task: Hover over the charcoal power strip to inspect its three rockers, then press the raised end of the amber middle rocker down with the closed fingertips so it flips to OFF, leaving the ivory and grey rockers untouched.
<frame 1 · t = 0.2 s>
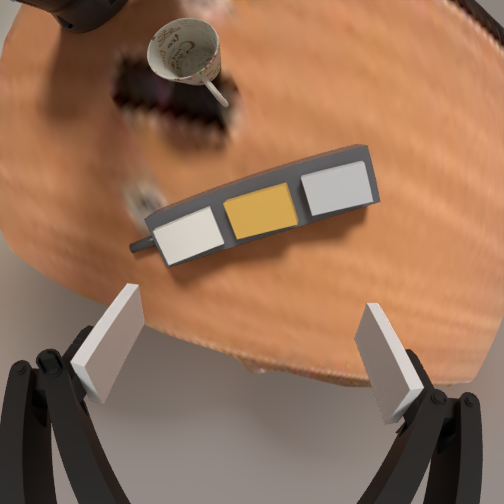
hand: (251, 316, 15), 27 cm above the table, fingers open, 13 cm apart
power strip: (261, 200, 40), on the table
rocker b: (261, 211, 34), point 6 cm above the table, hinge at 11.0°
mug: (208, 77, 33), on the table
rocker c: (337, 188, 32), point 6 cm above the table, hinge at 11.0°
rocker a: (188, 235, 36), point 6 cm above the table, hinge at -11.0°
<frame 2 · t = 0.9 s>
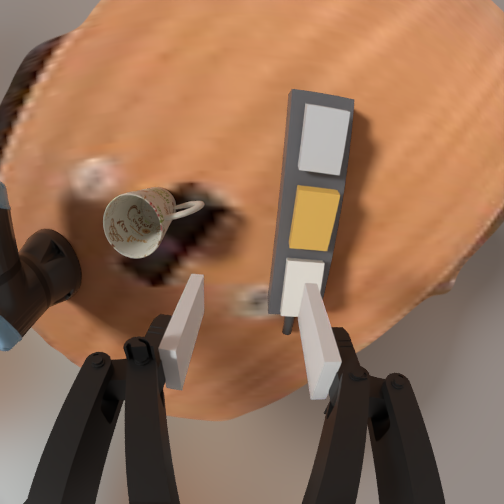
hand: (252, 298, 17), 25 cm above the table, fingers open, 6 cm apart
power strip: (305, 206, 40), on the table
rocker b: (313, 219, 34), point 6 cm above the table, hinge at 11.0°
mug: (170, 202, 40), on the table
rocker c: (323, 139, 30), point 6 cm above the table, hinge at 11.0°
rocker a: (301, 288, 38), point 6 cm above the table, hinge at -11.0°
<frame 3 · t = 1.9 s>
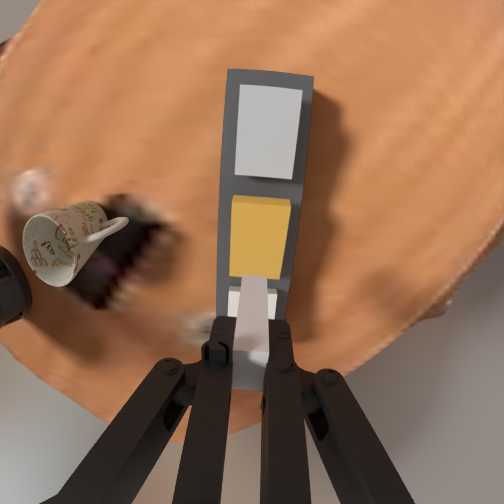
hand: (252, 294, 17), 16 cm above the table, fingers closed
power strip: (257, 219, 32), on the table
rocker b: (257, 239, 26), point 6 cm above the table, hinge at 11.0°
mug: (102, 218, 32), on the table
rocker c: (267, 131, 22), point 6 cm above the table, hinge at 11.0°
rocker a: (250, 323, 30), point 6 cm above the table, hinge at -11.0°
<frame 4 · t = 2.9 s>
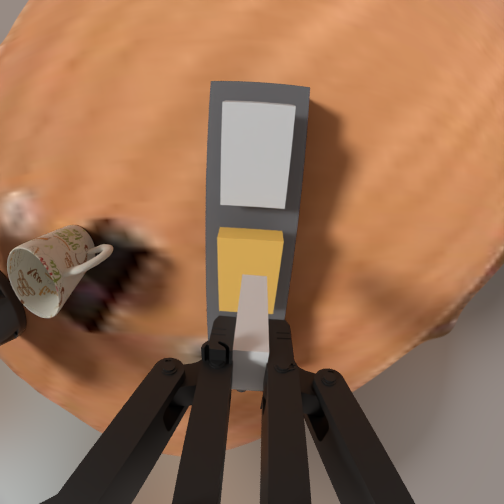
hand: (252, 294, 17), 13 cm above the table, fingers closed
power strip: (250, 245, 30), on the table
rocker b: (248, 274, 24), point 6 cm above the table, hinge at 11.0°
mug: (89, 242, 30), on the table
rocker c: (255, 154, 20), point 6 cm above the table, hinge at 11.0°
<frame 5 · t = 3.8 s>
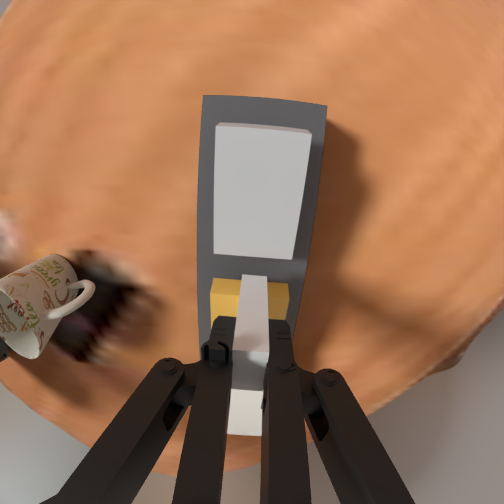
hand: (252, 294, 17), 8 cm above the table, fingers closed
power strip: (249, 286, 26), on the table
rocker b: (246, 329, 20), point 6 cm above the table, hinge at 9.2°, touching gripper
mug: (72, 273, 26), on the table
rocker c: (258, 193, 16), point 6 cm above the table, hinge at 11.0°
rocker a: (240, 404, 24), point 6 cm above the table, hinge at -11.0°
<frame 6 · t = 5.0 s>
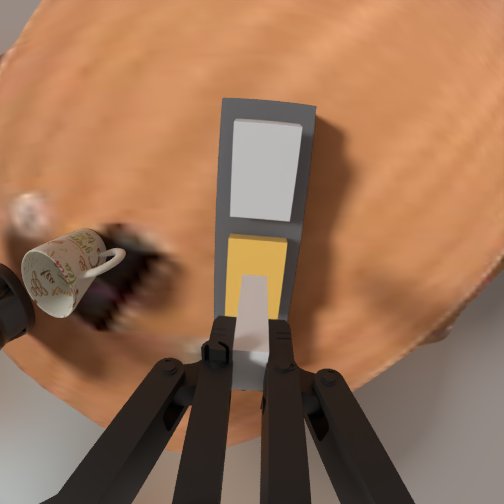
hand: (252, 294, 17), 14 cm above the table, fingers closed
power strip: (256, 252, 31), on the table
rocker b: (254, 280, 25), point 6 cm above the table, hinge at -6.1°
mug: (101, 245, 32), on the table
rocker c: (264, 170, 21), point 6 cm above the table, hinge at 11.0°
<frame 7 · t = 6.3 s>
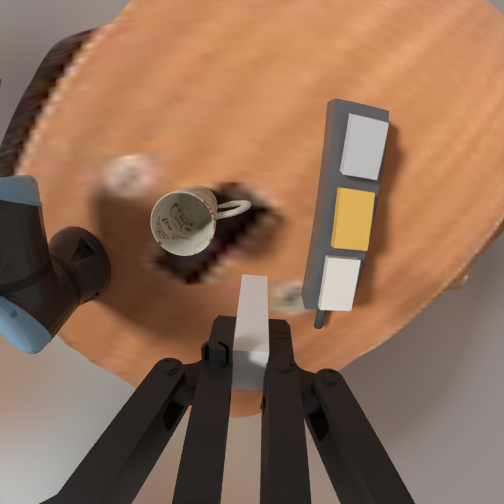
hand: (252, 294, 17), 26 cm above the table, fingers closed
power strip: (340, 207, 41), on the table
rocker b: (353, 219, 36), point 6 cm above the table, hinge at -10.4°
mug: (211, 201, 42), on the table
rocker c: (364, 146, 31), point 6 cm above the table, hinge at 11.0°
rocker a: (339, 283, 40), point 6 cm above the table, hinge at -11.0°
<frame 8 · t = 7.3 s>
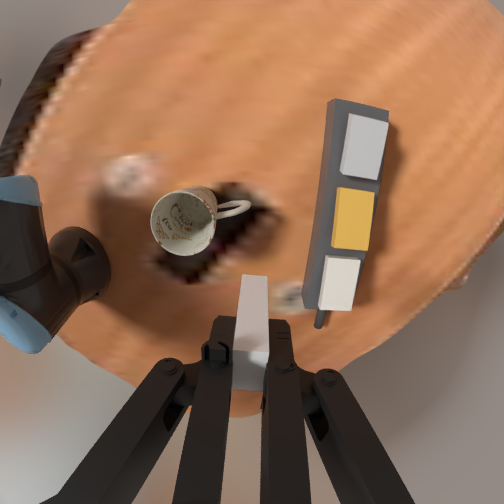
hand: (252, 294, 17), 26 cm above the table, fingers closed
power strip: (340, 207, 41), on the table
rocker b: (353, 219, 36), point 6 cm above the table, hinge at -11.9°
mug: (211, 201, 42), on the table
rocker c: (364, 146, 32), point 6 cm above the table, hinge at 11.0°
rocker a: (339, 283, 40), point 6 cm above the table, hinge at -11.0°
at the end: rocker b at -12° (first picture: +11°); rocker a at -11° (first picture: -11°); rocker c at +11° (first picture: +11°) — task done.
